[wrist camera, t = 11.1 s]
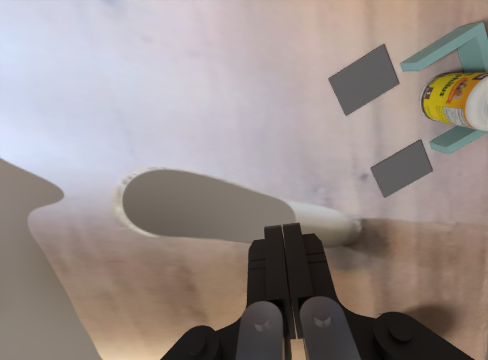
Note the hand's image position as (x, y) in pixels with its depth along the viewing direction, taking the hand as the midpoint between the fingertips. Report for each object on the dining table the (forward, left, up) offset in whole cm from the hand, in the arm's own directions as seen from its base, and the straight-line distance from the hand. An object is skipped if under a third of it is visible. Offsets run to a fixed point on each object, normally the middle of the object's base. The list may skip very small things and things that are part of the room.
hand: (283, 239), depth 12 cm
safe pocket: (+9, +23, -24) cm, 34 cm away
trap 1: (+15, +15, -24) cm, 32 cm away
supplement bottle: (+9, +23, -24) cm, 34 cm away
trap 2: (+2, +15, -24) cm, 28 cm away
